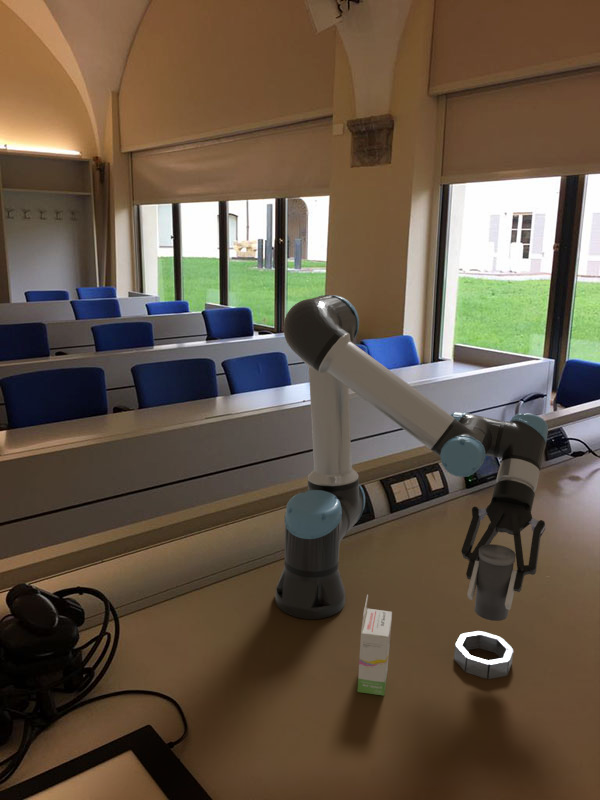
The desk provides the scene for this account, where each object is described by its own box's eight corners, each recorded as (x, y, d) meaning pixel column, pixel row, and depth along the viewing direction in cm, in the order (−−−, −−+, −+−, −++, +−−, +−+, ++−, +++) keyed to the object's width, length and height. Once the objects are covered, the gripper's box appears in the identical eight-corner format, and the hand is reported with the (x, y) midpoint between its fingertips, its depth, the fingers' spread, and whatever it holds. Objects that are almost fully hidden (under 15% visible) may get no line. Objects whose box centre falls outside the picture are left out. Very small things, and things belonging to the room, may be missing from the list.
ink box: (385, 697, 117) (390, 621, 113) (356, 692, 118) (360, 617, 114) (388, 667, 125) (393, 595, 122) (362, 663, 126) (366, 591, 123)
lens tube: (469, 615, 124) (475, 555, 121) (478, 599, 129) (483, 541, 126) (505, 625, 121) (511, 563, 118) (512, 608, 126) (518, 549, 123)
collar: (449, 667, 126) (450, 652, 125) (463, 639, 134) (464, 626, 134) (504, 684, 121) (505, 670, 120) (514, 655, 130) (516, 641, 129)
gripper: (567, 505, 130) (544, 622, 120) (469, 486, 138) (440, 594, 128) (566, 488, 124) (543, 610, 114) (464, 469, 132) (433, 581, 122)
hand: (488, 601), depth 121 cm, fingers closed on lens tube, 6 cm apart
